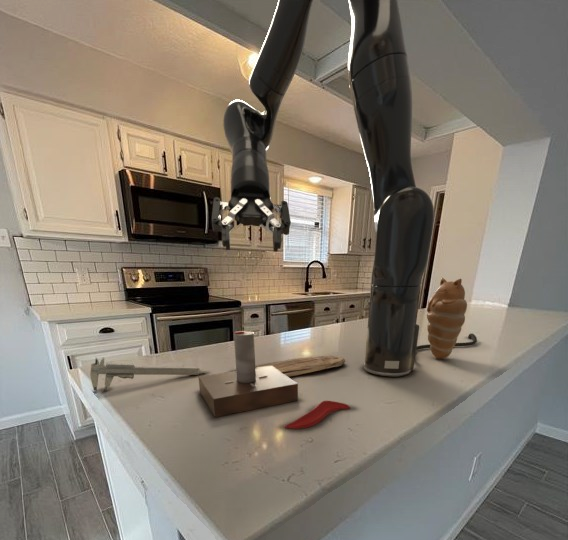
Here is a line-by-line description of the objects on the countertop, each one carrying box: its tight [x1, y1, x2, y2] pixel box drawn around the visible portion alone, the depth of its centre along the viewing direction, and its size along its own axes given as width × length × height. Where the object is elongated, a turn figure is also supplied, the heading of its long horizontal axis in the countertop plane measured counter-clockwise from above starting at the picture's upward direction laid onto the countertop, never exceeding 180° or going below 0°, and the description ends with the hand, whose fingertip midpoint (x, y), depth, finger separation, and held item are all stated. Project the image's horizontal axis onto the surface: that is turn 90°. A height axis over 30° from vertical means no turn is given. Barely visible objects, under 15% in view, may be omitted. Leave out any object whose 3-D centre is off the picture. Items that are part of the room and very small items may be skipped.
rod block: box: [198, 366, 299, 418], centre depth 55 cm, size 14×11×3 cm
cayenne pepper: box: [284, 400, 351, 430], centre depth 48 cm, size 12×5×2 cm, turn 116°
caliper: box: [89, 356, 206, 392], centre depth 62 cm, size 20×1×6 cm, turn 119°
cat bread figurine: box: [426, 277, 468, 359], centre depth 72 cm, size 9×8×18 cm
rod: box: [233, 330, 256, 383], centre depth 53 cm, size 3×3×8 cm
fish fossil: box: [234, 355, 346, 378], centre depth 69 cm, size 26×10×1 cm, turn 118°
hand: (252, 247), depth 57 cm, fingers open, 8 cm apart
